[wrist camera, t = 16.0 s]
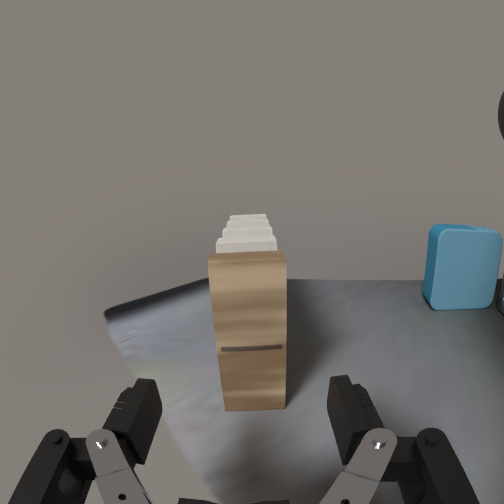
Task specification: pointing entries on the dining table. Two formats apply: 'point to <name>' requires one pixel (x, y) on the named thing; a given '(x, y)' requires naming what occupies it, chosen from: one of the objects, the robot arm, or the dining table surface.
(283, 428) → the dining table surface
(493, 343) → the dining table surface
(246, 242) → the tile
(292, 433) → the dining table surface
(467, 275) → the data package
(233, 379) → the tile
